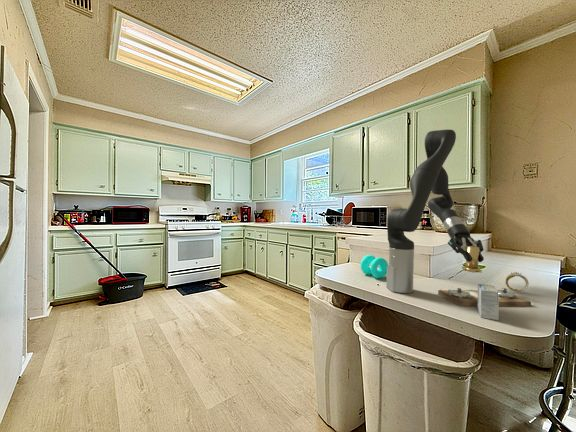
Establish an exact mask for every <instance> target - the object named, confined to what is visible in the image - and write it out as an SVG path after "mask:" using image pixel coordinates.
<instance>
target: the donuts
mask: <svg viewBox="0 0 576 432" xmlns="http://www.w3.org/2000/svg"><path fill="white" fill-rule="evenodd" d="M387 265H389V262H388V261H387V260H386V259H385V258H383V257H375V256H374V255H372V254H367V255H365V256H364V257H362V259H361V260H360V270H361V272H362V273H364V274H365V275H367V276H368V275H369V276H370V274H371V275H372V276H373V277H374V278H376V279H382V278H384V277H385V276H387Z"/></svg>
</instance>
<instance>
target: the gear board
mask: <svg viewBox="0 0 576 432" xmlns="http://www.w3.org/2000/svg"><path fill="white" fill-rule="evenodd" d="M448 290H449V289H448ZM448 290H447V289H446V290H445V289H443V290H441V289H440V290H438V292H437V295H439V296H441V297H442V298H444V299H446V300H449V302H452V303H454V304H456V306H460V307H478V289H477V290H476V289H475V290H472V289H471V290H467V289H466V290H465V289H464V290H463V289H461V291H464V292H469V293H470V295H471V299H468V298H462V299H459V298H458V297H454V296H449V293H448ZM531 306H532V302H531V301H530V300H528V299H524V298H522V297H520V296H518V297H517V299H515V298H509V299H506V298H503V297H499V307H531Z"/></svg>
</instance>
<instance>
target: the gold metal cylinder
mask: <svg viewBox="0 0 576 432" xmlns="http://www.w3.org/2000/svg"><path fill="white" fill-rule="evenodd" d="M466 249H467V252H468V253H469V254H470V256H471V257H472V260H471V261H470V262H467V260H466V259H465V266H464V265H463V266H462V268H461V269H462V271H464V272H470V273H478V274H479V273H480V274H481V273H482V271H483V269H481V267H479V263H480V262H479V247H475V246H466Z"/></svg>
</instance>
